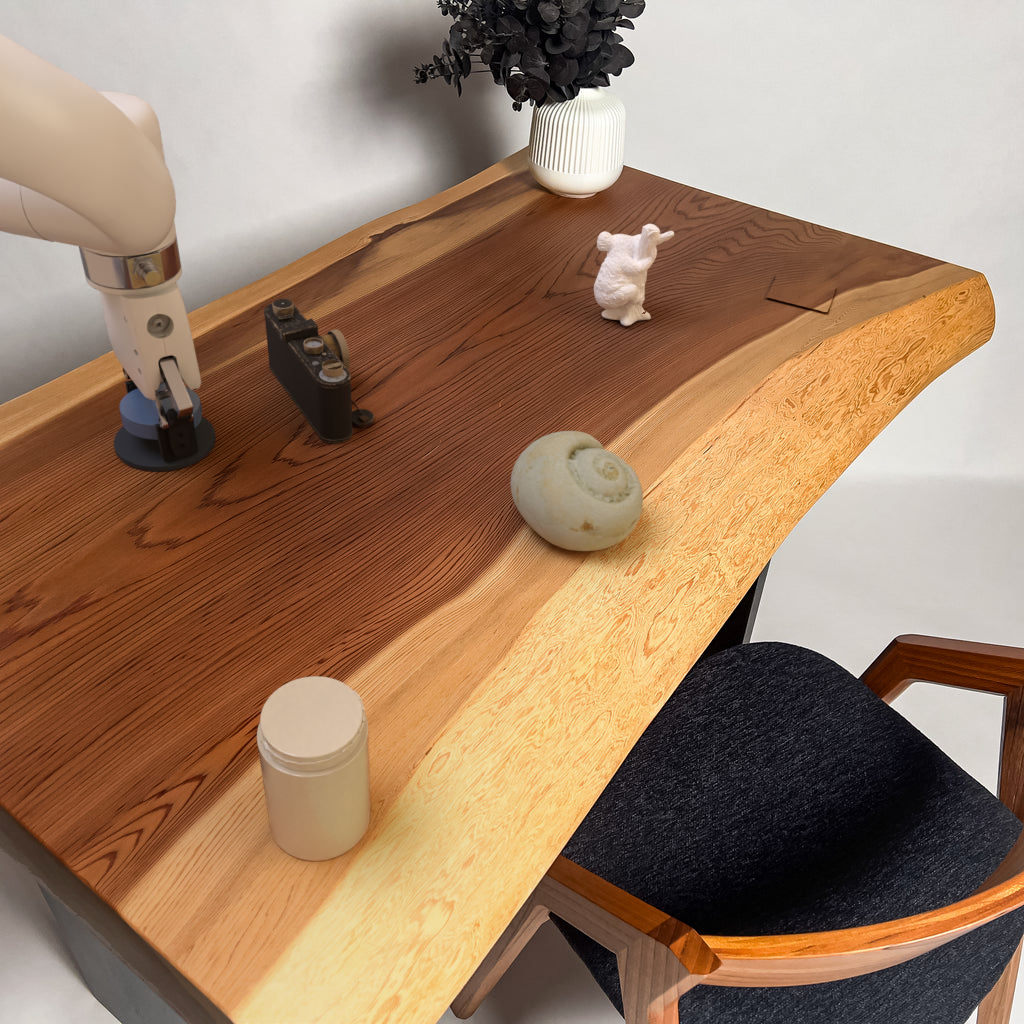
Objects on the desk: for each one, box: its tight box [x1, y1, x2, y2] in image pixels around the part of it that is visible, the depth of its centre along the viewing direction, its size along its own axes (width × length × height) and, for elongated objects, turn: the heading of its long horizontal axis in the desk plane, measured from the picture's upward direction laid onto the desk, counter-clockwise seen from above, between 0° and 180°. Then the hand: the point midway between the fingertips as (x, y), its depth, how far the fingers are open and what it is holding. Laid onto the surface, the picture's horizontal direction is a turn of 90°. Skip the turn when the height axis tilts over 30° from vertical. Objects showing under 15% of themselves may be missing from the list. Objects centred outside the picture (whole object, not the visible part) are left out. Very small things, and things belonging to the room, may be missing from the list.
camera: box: [263, 298, 375, 444], centre depth 95 cm, size 16×7×8 cm, turn 31°
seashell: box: [510, 430, 644, 552], centre depth 84 cm, size 13×8×10 cm
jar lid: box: [119, 383, 203, 440], centre depth 88 cm, size 7×7×2 cm
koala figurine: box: [593, 223, 675, 327], centre depth 112 cm, size 8×7×12 cm
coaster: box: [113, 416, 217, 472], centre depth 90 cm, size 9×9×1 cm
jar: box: [256, 675, 371, 862], centre depth 59 cm, size 6×6×10 cm
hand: (164, 433), depth 90 cm, fingers closed on jar lid, 7 cm apart
